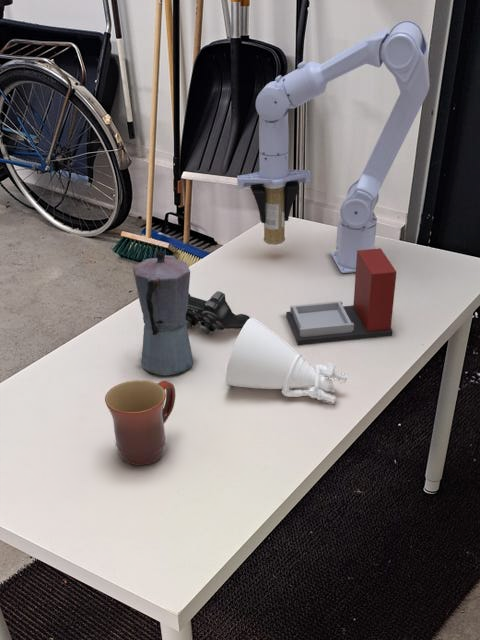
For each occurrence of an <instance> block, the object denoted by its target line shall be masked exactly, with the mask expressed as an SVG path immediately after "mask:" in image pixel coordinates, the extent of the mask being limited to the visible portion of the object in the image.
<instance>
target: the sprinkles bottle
mask: <svg viewBox="0 0 480 640" xmlns="http://www.w3.org/2000/svg"><path fill="white" fill-rule="evenodd" d="M285 184H286V182H283V183H282V184H280V185H272V184H266V183H264V184H263V187H264V191H265V223H263V230H264V231H263V233H264V234H263V242H264V243H265V244H267V245H272V246H273V245H274V246H277V245H281V244H283V243H284V242H285V241H286V236H285V230H286V229H285V228H286V227H285V226H286V221H285V203H284V199H285V198H284V197H285V196H284V195H285V194H284V193H285V192H284V190H285V189H284V188H285Z"/></svg>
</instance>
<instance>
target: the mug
mask: <svg viewBox="0 0 480 640" xmlns="http://www.w3.org/2000/svg"><path fill="white" fill-rule="evenodd" d="M175 401H176V388H175V385H174V384H173V383H172V382H171V381H167V380H162V381H159V382H154V381H151V380H143V379H142V380H141V379H135V380H128V381H124V382H121V383H118V384H116V385H114V386H113V387H111V388H110V389H109V390H108V391H107V392H106V393H105V396H104V402H105V405H106V407H107V409H108V411H109V412H110V415H111V417H112V421H113V429H114V430H113V431H114V439H115V446H116V449H117V452H118V454H119V457H120V459H122V460H123V461H124V462H126V463H128V464H131V465H136V466H144V465H145V466H146V465H150V464H152V463H155V462H156V461H158V460H159V459H161V458H162V457H163V456H164V454H165V451H166V445H167V442H166V441H167V437H166V430H165V424H166V422H167V421H168V420H169V417H170V416H171V414H172V413H173V409H174V406H175V403H176V402H175Z"/></svg>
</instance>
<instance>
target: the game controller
mask: <svg viewBox="0 0 480 640" xmlns="http://www.w3.org/2000/svg"><path fill="white" fill-rule="evenodd" d="M249 318H251V316H250V315H247V314H244V313H238V314H235V313H233V311H232V309H231V307H230V305H229V304H228V301H226V294H225V293H223V291H218V290H217V291H215V292H214V293H213V294H212V295H211V296H210V298H209V299H208V300H205V299H201V298H199V297H195V296H193V295H191V294H190V293H189V294H188V309H187V313H186V321H185V322H186V324H187V329H188V330H189V329H190V330H191V329H192V328H193V327H196V326H198V324H200V325H199V330H200V332H201V333H203V334H205V335H210V334H211V333H213V332H215V330H218V331H224V330H237V329H238V330H242V328H243V326H244V324H245V323H246V322H247V320H248V319H249Z"/></svg>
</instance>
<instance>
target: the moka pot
mask: <svg viewBox="0 0 480 640" xmlns="http://www.w3.org/2000/svg"><path fill="white" fill-rule="evenodd" d="M155 255H156V257H152V258H146V259H144V260H142V261H140V262H137V263H136V264H135V265H133V266H132V272H133V276H134V281H135V286H136V290H137V295H138V300H139V306H140V309H141V313H142V318H143V319H142V320H143V324H144V325H143V334H142V335H143V336H142V350H141V351H142V352H141V366H142V368H143V369H144V370H145V371H147V372H148V373H151V374H155V375H158V376H171V375H176V374H180V373H182V372H183V373H184V372H185V371H187V370H189V369H190V368H191V367H192V365H193V361H194V359H193V353H192V346H191V342H190V335H189V331H188V328H187V324H186V322H185V321H186V313H187V309H188V294H190V283H191V282H190V280H191V270H190V267H189V265H188V263H187V261H185V260H181V259H177V258H176V257H175V255H167V254H166V251H163V250H157V251H156V252H155Z"/></svg>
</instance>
